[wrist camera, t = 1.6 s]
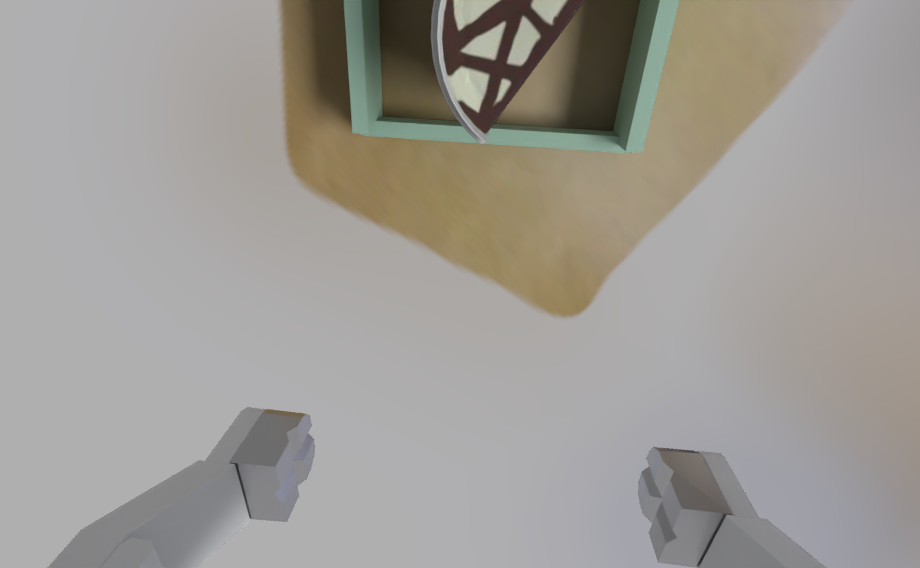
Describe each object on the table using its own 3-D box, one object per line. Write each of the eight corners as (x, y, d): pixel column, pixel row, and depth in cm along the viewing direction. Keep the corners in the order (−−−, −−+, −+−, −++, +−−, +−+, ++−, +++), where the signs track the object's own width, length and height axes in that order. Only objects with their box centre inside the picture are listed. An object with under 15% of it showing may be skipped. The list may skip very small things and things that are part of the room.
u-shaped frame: (354, -167, 24) (330, -202, 20) (692, -156, 23) (726, -191, 20) (369, 130, 31) (353, 141, 28) (624, 147, 31) (640, 160, 27)
